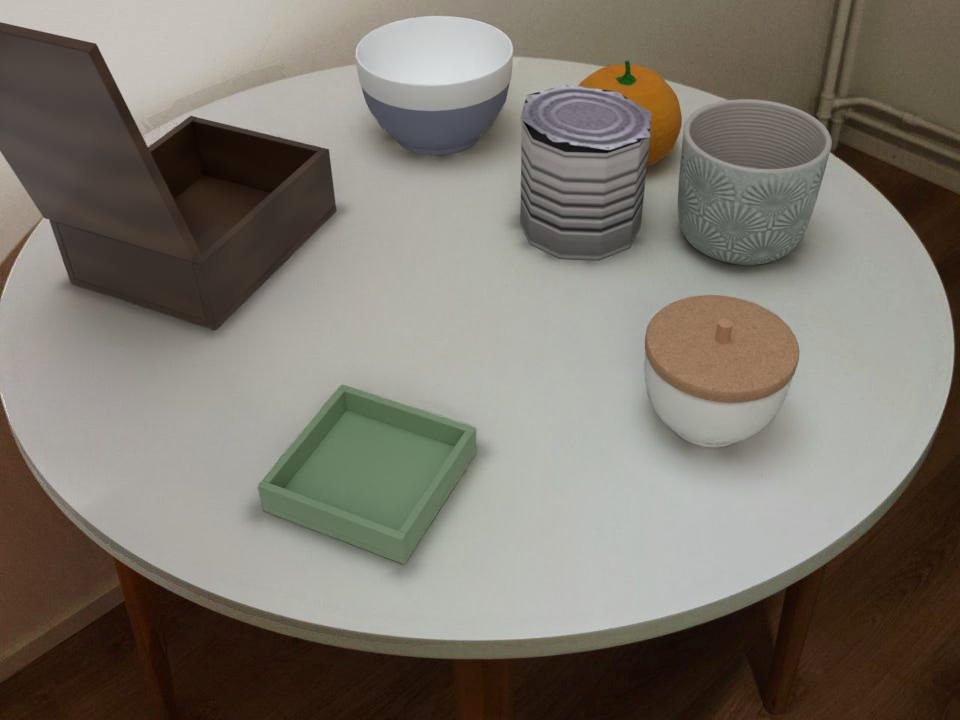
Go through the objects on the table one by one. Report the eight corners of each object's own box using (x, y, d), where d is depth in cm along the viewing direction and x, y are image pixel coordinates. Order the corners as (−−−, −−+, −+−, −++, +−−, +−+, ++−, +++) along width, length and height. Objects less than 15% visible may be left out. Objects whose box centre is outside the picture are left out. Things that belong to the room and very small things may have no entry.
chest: (203, 176, 106) (190, 115, 102) (336, 211, 101) (329, 148, 97) (70, 284, 93) (48, 219, 89) (215, 330, 88) (200, 265, 83)
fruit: (542, 139, 111) (545, 50, 104) (638, 115, 114) (647, 27, 108) (598, 194, 103) (605, 101, 96) (699, 166, 106) (713, 75, 100)
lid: (-84, 2, 72) (-93, 10, 71) (96, 43, 67) (88, 51, 66) (50, 210, 88) (43, 218, 88) (202, 255, 83) (196, 264, 83)
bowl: (332, 145, 110) (322, 59, 104) (421, 85, 120) (417, 3, 114) (457, 189, 104) (454, 101, 97) (540, 122, 114) (543, 37, 107)
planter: (786, 294, 91) (811, 185, 83) (650, 256, 95) (663, 150, 88) (821, 221, 99) (847, 116, 92) (694, 189, 103) (709, 87, 96)
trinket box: (807, 453, 77) (834, 356, 70) (671, 485, 75) (686, 388, 68) (740, 359, 84) (759, 265, 78) (615, 386, 82) (624, 291, 76)
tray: (404, 564, 70) (402, 539, 68) (262, 510, 73) (256, 485, 72) (476, 452, 77) (476, 427, 75) (344, 408, 81) (341, 383, 79)
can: (522, 190, 103) (524, 77, 96) (639, 194, 103) (650, 81, 95) (516, 259, 95) (517, 141, 87) (643, 264, 94) (656, 145, 86)
